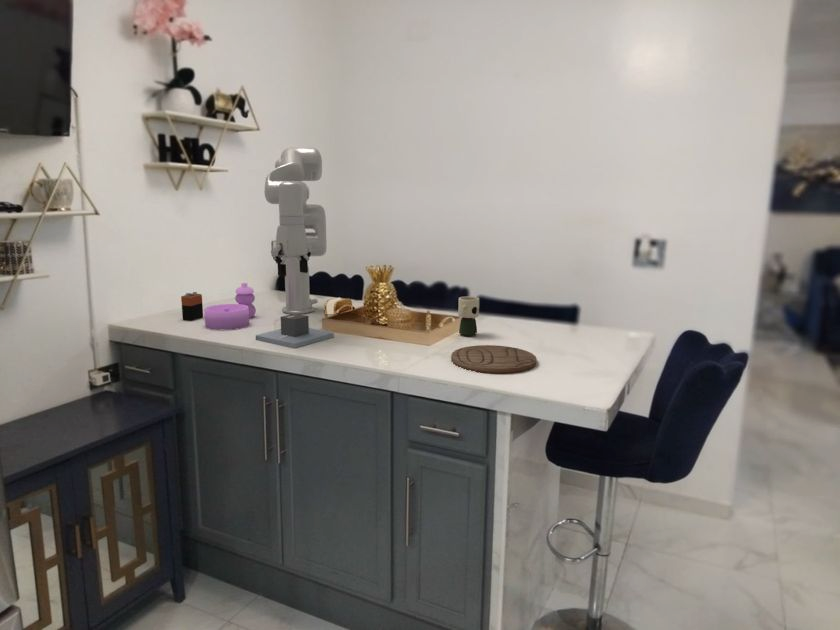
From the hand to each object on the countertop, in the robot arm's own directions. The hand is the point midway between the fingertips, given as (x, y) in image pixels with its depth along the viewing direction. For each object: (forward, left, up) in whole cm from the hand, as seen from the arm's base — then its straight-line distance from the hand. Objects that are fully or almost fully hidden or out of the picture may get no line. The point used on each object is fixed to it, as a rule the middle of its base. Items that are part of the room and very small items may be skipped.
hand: (293, 274), depth 198 cm
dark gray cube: (0, 0, -20) cm, 20 cm away
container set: (-4, -35, -22) cm, 42 cm away
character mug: (-39, +44, -22) cm, 63 cm away
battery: (+2, -52, -22) cm, 56 cm away
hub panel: (0, 0, -22) cm, 22 cm away
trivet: (-16, +66, -22) cm, 71 cm away
